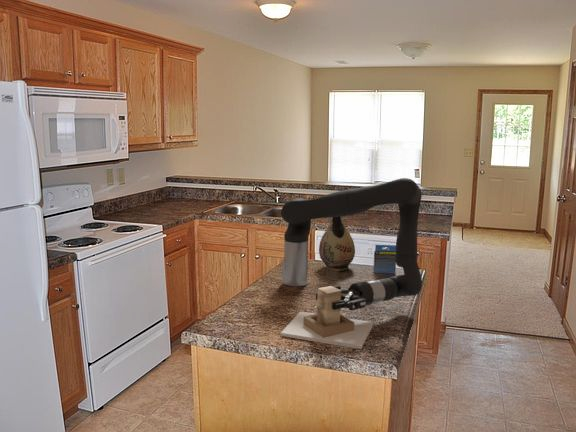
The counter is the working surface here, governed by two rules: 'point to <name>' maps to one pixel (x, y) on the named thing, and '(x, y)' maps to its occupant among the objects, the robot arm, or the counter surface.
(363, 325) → the socket board
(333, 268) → the ceramic jug
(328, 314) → the maple peg
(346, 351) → the counter surface
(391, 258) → the label tape cartridge
